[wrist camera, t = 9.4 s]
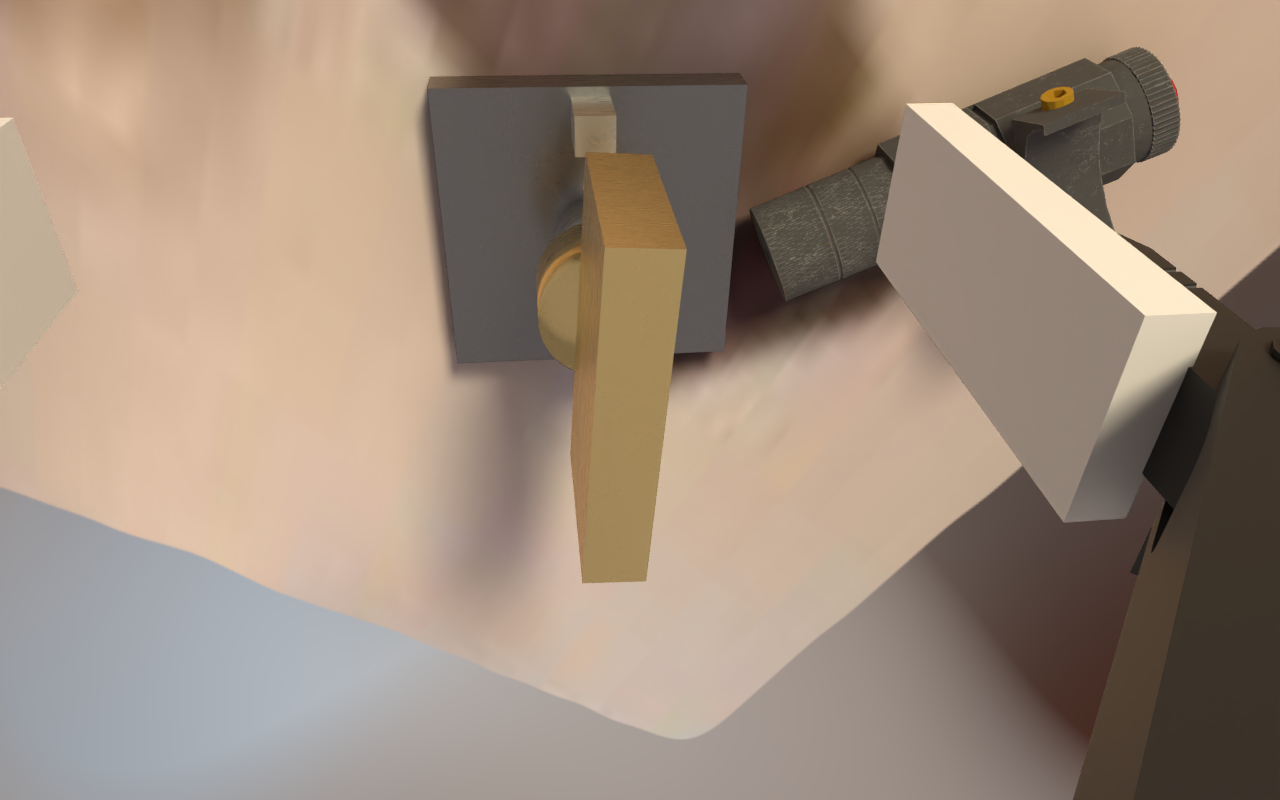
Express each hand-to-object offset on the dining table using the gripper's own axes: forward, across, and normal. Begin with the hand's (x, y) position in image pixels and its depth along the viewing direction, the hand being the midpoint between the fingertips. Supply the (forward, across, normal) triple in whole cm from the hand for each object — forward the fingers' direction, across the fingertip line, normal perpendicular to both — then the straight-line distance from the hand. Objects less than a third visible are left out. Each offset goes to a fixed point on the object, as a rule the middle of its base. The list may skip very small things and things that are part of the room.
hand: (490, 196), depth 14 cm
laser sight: (+35, +24, -13) cm, 45 cm away
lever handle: (+27, +4, -16) cm, 32 cm away
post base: (+35, +4, -16) cm, 38 cm away
